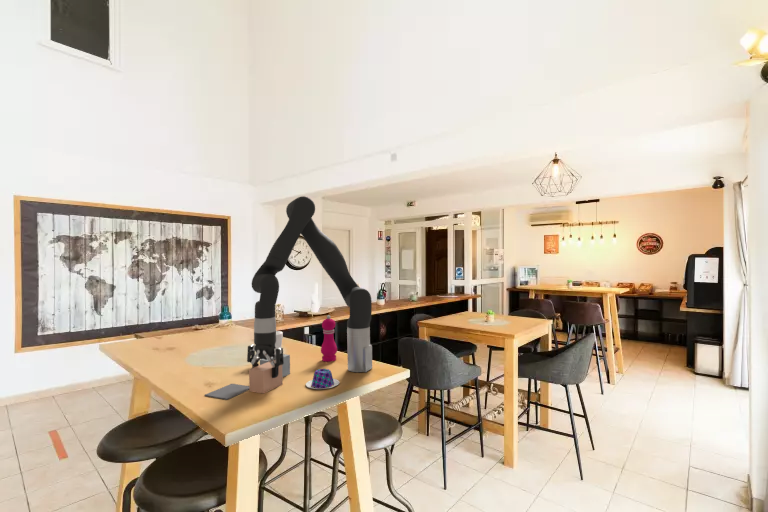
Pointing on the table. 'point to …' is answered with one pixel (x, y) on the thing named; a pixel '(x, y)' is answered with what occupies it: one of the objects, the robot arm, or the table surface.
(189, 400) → the table surface
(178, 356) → the table surface
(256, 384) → the cover terracotta
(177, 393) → the table surface
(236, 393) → the mat
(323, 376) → the pudding
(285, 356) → the plate
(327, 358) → the pepper mill
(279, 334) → the foam cup
